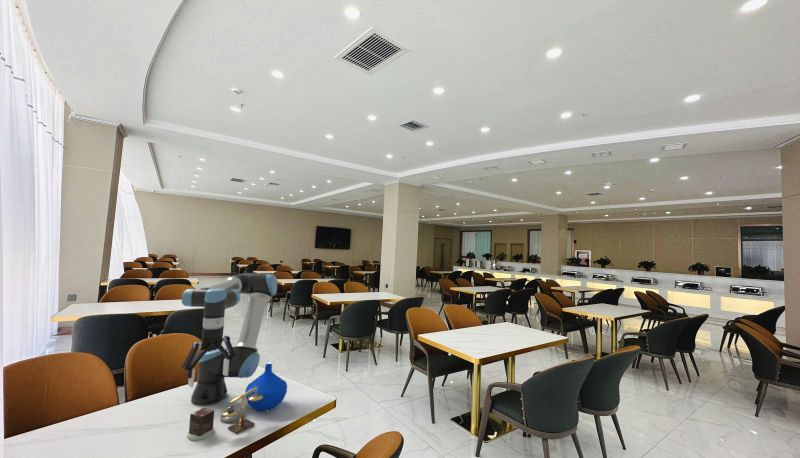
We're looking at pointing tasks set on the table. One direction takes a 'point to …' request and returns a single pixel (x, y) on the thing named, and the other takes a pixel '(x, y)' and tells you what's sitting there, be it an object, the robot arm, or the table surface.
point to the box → (201, 421)
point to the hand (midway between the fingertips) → (208, 380)
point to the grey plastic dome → (231, 418)
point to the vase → (267, 390)
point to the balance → (232, 411)
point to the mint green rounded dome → (195, 437)
